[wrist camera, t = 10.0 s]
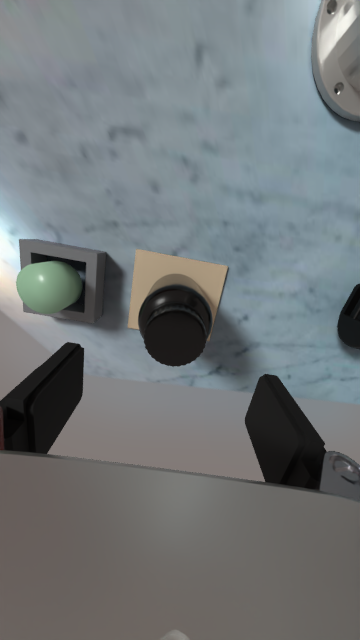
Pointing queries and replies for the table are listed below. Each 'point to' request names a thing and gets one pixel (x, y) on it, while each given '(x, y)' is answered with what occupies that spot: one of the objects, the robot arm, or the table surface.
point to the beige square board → (159, 265)
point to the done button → (49, 286)
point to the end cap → (351, 320)
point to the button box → (95, 275)
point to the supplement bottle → (175, 320)
